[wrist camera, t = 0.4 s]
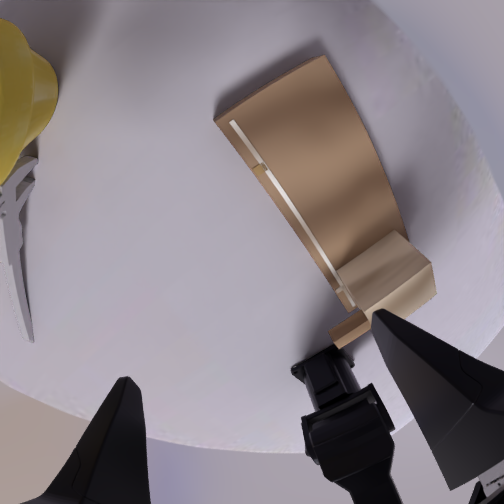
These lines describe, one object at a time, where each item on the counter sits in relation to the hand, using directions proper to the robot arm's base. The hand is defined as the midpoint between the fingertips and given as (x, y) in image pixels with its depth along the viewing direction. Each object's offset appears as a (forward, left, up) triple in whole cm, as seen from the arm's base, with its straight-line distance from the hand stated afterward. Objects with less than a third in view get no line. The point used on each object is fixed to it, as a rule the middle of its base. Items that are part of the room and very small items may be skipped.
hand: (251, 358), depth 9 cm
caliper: (+7, +17, -14) cm, 23 cm away
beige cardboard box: (-11, -6, -11) cm, 17 cm away
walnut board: (-5, -7, -13) cm, 16 cm away
